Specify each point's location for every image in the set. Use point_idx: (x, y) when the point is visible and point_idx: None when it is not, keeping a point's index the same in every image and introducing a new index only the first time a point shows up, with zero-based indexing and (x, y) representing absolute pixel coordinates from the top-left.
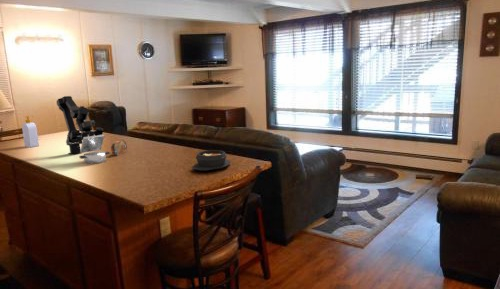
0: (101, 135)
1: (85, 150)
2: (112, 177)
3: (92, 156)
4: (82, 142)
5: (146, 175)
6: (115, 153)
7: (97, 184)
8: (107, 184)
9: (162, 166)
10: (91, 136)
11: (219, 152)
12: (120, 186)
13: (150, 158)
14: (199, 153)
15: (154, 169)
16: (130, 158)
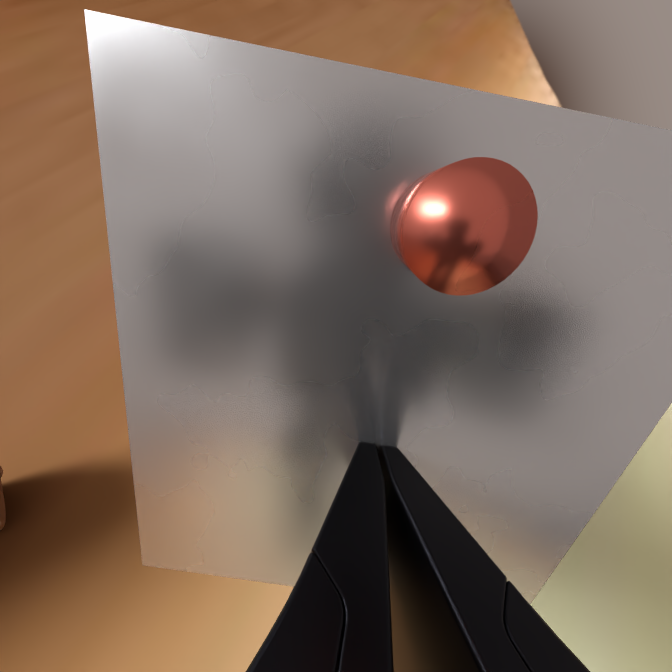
0: (207, 48)
1: None
2: (447, 71)
3: None
4: (668, 378)
5: (344, 11)
6: (2, 470)
7: (522, 61)
8: (495, 42)
9: (202, 22)
10: (560, 111)
11: None
12: (471, 12)
13: (44, 139)
14: None
15: (262, 24)
16: (91, 251)
